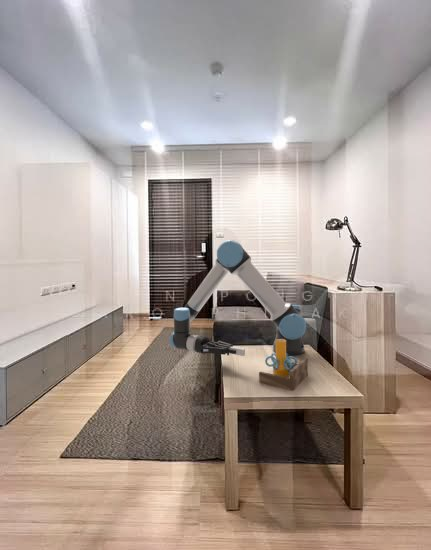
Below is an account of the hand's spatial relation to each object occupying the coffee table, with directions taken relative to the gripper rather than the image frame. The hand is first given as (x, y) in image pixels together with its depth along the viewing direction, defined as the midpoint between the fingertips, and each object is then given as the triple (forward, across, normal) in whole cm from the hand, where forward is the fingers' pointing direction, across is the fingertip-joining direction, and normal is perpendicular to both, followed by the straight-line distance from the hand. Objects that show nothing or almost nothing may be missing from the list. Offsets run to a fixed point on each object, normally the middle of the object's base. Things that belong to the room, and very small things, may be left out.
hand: (243, 352), depth 132 cm
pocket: (+18, 0, -8) cm, 19 cm away
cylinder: (+16, -1, -8) cm, 18 cm away
